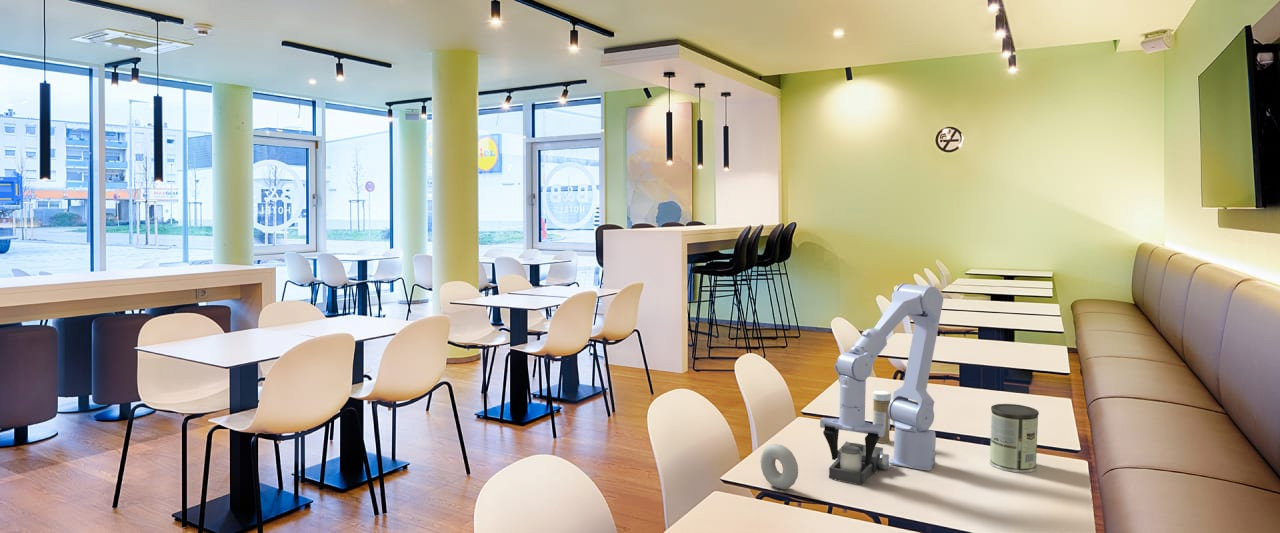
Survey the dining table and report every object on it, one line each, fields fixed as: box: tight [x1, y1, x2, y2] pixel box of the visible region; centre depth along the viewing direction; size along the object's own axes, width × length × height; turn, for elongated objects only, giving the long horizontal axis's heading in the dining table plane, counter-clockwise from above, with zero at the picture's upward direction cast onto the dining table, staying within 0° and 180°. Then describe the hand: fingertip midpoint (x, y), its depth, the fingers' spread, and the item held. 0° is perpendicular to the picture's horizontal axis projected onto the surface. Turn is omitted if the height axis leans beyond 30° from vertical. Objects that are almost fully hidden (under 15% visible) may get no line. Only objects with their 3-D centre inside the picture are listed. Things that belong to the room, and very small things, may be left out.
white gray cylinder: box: [840, 445, 862, 473], centre depth 172 cm, size 5×5×7 cm
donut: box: [760, 443, 799, 490], centre depth 165 cm, size 10×4×10 cm, turn 38°
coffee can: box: [989, 403, 1040, 474], centre depth 179 cm, size 10×10×14 cm
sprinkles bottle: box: [872, 390, 892, 444], centre depth 198 cm, size 5×5×14 cm
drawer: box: [836, 441, 890, 475], centre depth 179 cm, size 11×8×5 cm
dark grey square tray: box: [828, 458, 873, 485], centre depth 173 cm, size 8×9×2 cm
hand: (851, 461), depth 172 cm, fingers open, 7 cm apart
